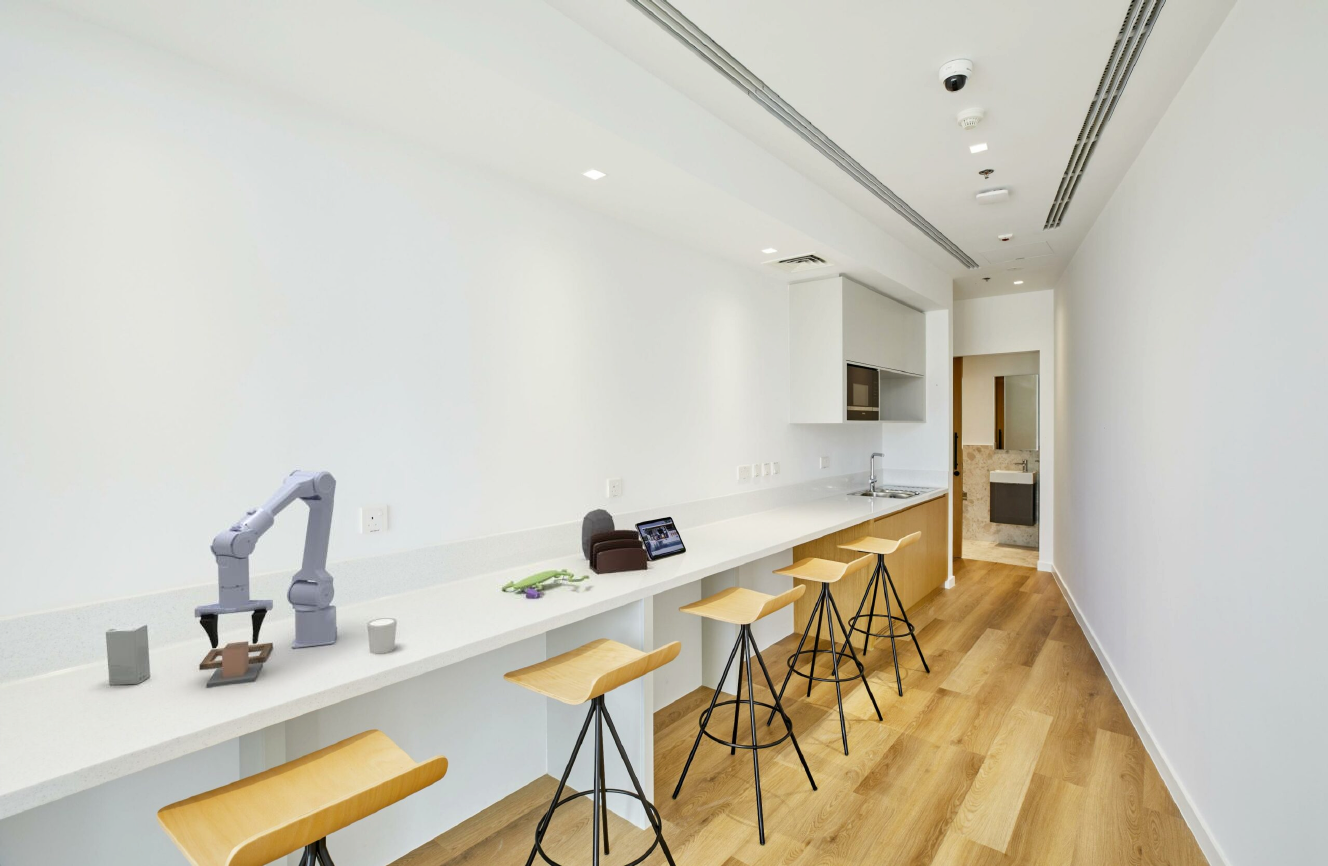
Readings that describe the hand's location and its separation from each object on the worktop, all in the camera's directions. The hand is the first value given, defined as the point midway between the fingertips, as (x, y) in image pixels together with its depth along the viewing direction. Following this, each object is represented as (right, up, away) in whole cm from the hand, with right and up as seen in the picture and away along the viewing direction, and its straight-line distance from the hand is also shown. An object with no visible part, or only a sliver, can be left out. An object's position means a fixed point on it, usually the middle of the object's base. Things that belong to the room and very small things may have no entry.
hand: (235, 644), depth 146 cm
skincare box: (-21, -7, -3) cm, 23 cm away
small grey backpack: (+70, -3, +116) cm, 135 cm away
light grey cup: (+26, -7, +17) cm, 31 cm away
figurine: (+57, -5, +72) cm, 92 cm away
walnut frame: (-6, -7, +11) cm, 14 cm away
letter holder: (+79, -4, +100) cm, 127 cm away
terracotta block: (0, -6, 0) cm, 6 cm away
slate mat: (0, -7, 0) cm, 7 cm away
